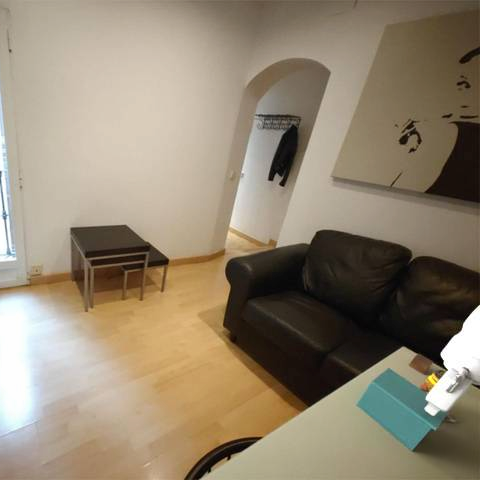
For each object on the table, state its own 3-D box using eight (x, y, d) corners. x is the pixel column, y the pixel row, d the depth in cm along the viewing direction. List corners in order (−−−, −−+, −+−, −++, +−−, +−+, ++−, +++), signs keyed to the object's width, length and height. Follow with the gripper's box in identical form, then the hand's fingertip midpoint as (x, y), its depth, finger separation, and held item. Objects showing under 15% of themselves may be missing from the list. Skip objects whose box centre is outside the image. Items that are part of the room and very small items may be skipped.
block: (427, 370, 90) (433, 362, 89) (423, 374, 88) (429, 365, 87) (412, 361, 93) (418, 353, 92) (408, 365, 91) (414, 356, 90)
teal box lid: (449, 411, 65) (460, 398, 63) (435, 430, 60) (447, 416, 58) (387, 369, 75) (396, 356, 73) (370, 382, 70) (379, 369, 68)
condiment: (404, 392, 80) (425, 364, 75) (433, 399, 79) (457, 370, 75) (423, 416, 73) (448, 386, 69) (455, 423, 73) (482, 393, 68)
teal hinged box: (426, 431, 69) (445, 409, 66) (411, 451, 64) (431, 428, 60) (373, 390, 79) (387, 369, 75) (356, 405, 73) (370, 383, 70)
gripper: (481, 391, 50) (439, 436, 55) (501, 358, 60) (465, 399, 66) (438, 365, 55) (403, 409, 60) (463, 339, 65) (432, 378, 71)
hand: (436, 403), depth 63 cm, fingers open, 8 cm apart
